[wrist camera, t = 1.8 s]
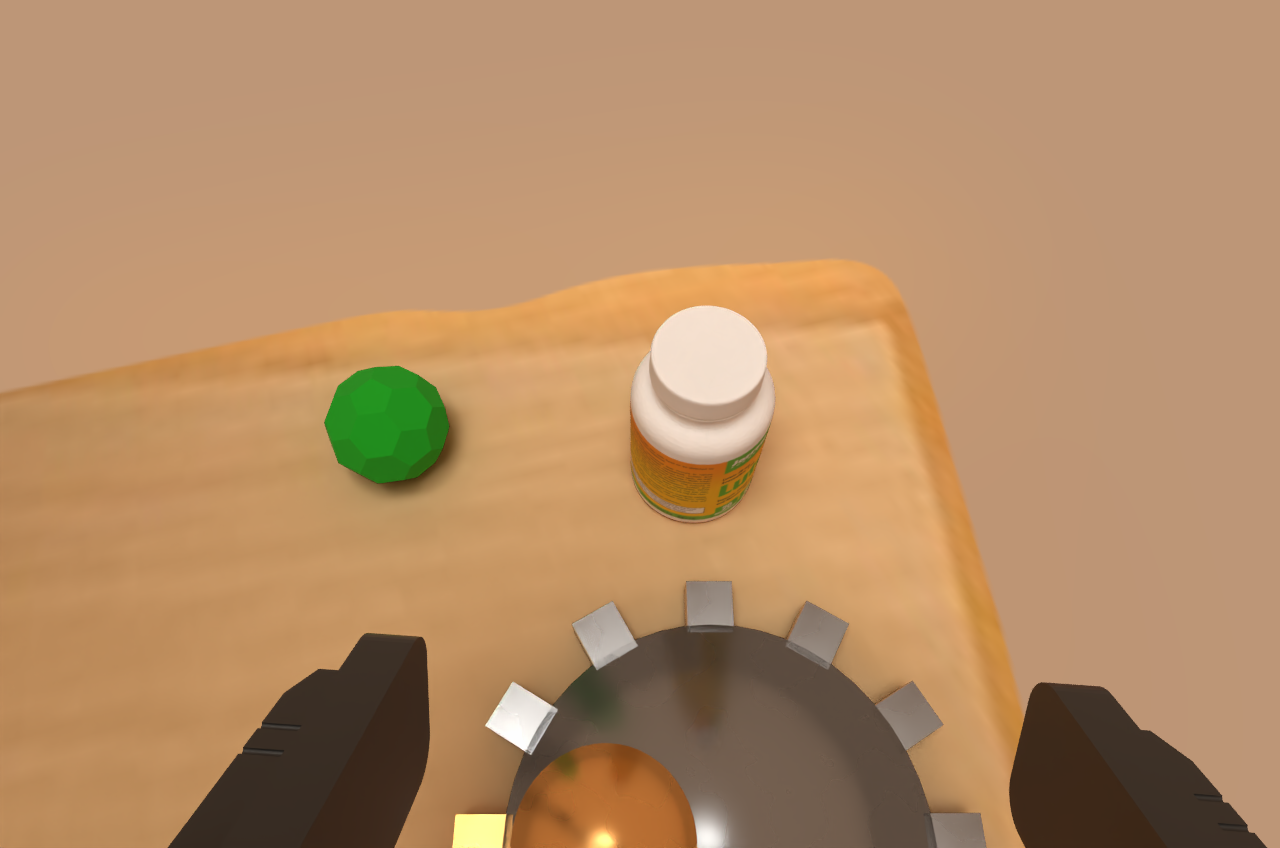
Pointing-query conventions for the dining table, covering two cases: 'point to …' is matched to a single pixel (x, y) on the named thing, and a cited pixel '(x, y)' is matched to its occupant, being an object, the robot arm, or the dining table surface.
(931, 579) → the dining table surface
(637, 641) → the sprocket plate
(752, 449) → the supplement bottle
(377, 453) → the polyhedron
